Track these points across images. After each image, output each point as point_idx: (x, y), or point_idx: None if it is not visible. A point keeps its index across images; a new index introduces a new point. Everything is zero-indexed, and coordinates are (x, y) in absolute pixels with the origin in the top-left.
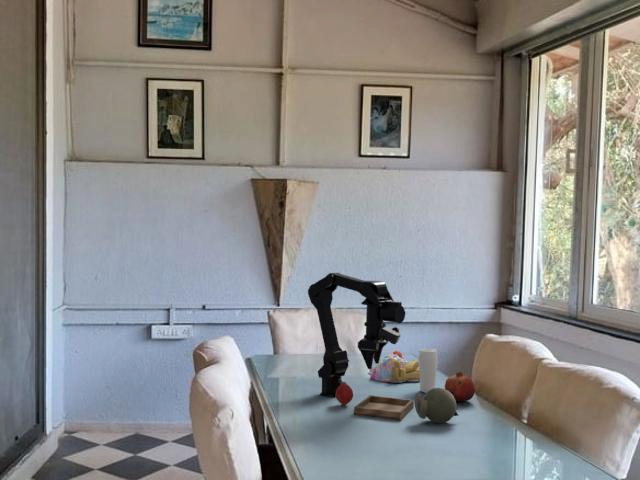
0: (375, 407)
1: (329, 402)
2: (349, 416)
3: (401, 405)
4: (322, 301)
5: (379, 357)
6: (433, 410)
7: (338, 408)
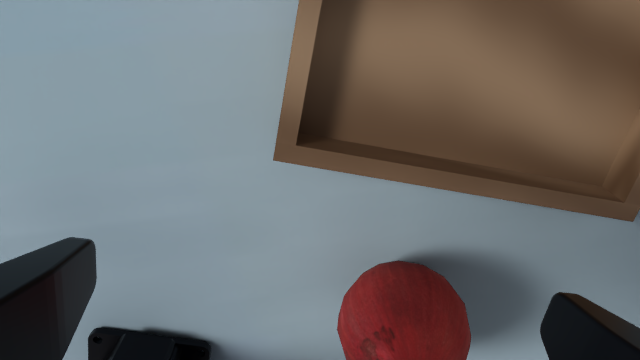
0: (473, 79)
1: (333, 356)
2: None
3: None
4: None
5: (20, 292)
6: None
7: None
